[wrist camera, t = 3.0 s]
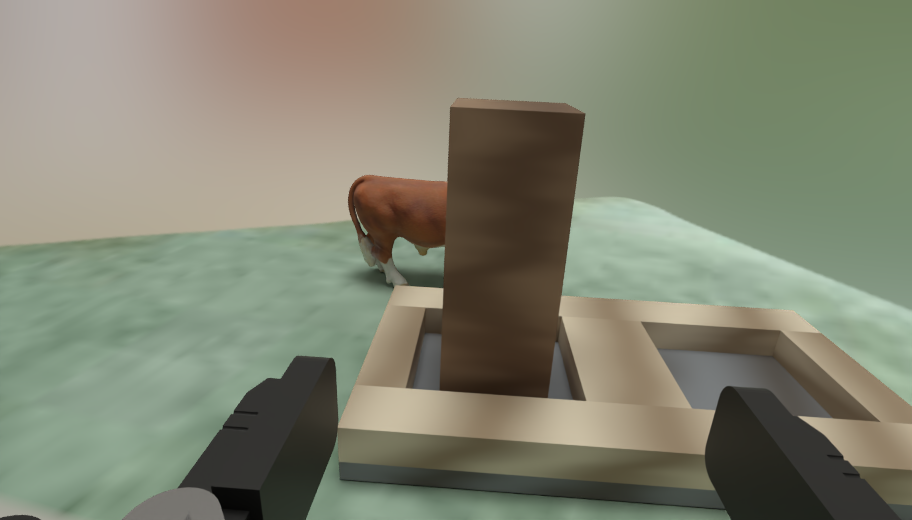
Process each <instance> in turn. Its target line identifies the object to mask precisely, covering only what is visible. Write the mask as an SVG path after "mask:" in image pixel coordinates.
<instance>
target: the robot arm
mask: <svg viewBox="0 0 912 520" xmlns="http://www.w3.org/2000/svg"><path fill="white" fill-rule="evenodd" d="M337 430H338V405H337V385H336V367H335V362H334V359H333V358H324V357H310V356H296V357H295V358H294V359H293V361H292V362H291V364H290V365H289V367H288V368H287V370H286V372H285V373H284V375H283V376H282V378H281V379H275V378H267V379H266V380H264V381H263V382H262V383H260V384H259V385H257V386H256V387H254V388H253V389H251V390H250V391H249V392H247V393H246V395H245V396H244V397H243V399H242V400H241V402H240V403H239V404H238V406H237V407H236V408H235V410H234V414H231V415H230V417H229V418H228V419H227V421H226V422H225V424H224V425H223V429H222V430H219V432H218V433H217V435H216V436H215V437H214V439H213V440H212V441H211V443H210V444H209V446H208V447H207V448H206V450H205V451H204V452H203V454H202V455H201V457H200V458H199V459H198V461H197V462H196V464H195V465H194V466H193V468H192V469H191V470H190V472H189V473H188V475H187V476H186V477H185V479H184V480H183V481H182V483H181V484H180V486H179V487H178V488H177V489H173V490H169V491H166V492H163V493H160V494H158V495H155V496H153V497H151V498H149V499H147V500H146V501H144V502H142V503H141V504H139V505H138V506H136V507H135V508H134V509H133V510H132V511H130V512H129V513H128V514H127V515H126V516H125V517H124V518H123V519H122V520H306V517H307V515H308V512H309V510H310V507H311V505H312V502H313V500H314V497H315V494H316V492H317V489H318V487H319V484H320V482H321V479H322V477H323V474H324V472H325V469H326V467H327V464H328V462H329V459H330V457H331V454H332V452H333V449H334V446H335V442H336V437H337ZM705 465H706V470H707V473H708V476H709V479H710V481H711V483H712V484H713V486H714V488H715V490H716V492H717V494H718V496H719V498H720V499H721V501H722V503H723V505H724V507H725V509H726V511H727V512H728V514H729V516H730V518H731V520H901V519H900V518H899V516H898V515H897V514H896V513H895V512H894V511H893V510H892V509H891V508H890V507H889V505H888V504H887V503H886V502H885V501H884V500H883V499H882V498H881V497H880V496H879V494H878V493H877V492H876V491H875V490H874V489H873V488H872V487H871V486H870V485H869V483H868V482H867V481H866V480H865V479H861V478H860V474H859V472H858V471H857V470H856V469H855V468H854V467H853V466H852V465H851V464H850V462H849V461H848V460H844V456H843V455H842V454H841V453H840V451H839V450H838V449H837V448H836V447H835V446H834V445H833V444H832V443H831V442H830V440H829V439H828V438H827V437H826V436H825V435H824V434H822V433H821V432H820V431H818V430H817V429H815V428H814V427H812V426H811V425H809V424H808V423H807V422H805V421H804V420H802V419H801V418H799V417H798V416H792V414H791V413H790V412H789V411H788V410H787V409H786V408H785V406H784V405H783V404H782V403H781V402H780V401H779V399H778V398H777V397H776V396H775V395H774V394H773V393H772V392H771V391H770V390H768V389H765V388H751V387H736V386H726V387H725V388H723V390H722V391H721V393H720V396H719V399H718V403H717V407H716V410H715V414H714V417H713V421H712V425H711V428H710V432H709V435H708V439H707V443H706V447H705ZM0 520H40V519H39V518H37V517H33V516H28V515H14V516H7V517H2V518H0Z"/></svg>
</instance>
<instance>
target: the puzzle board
mask: <svg viewBox="0 0 912 520" xmlns="http://www.w3.org/2000/svg"><path fill="white" fill-rule="evenodd" d="M442 311H443V288H431V287H415V286H399V285H395V287H394V290H393V292H392V294H391V297H390V299H389V302H388V304H387V307H386V309H385V312H384V314H383V317H382V319H381V321H380V324H379V326H378V329H377V331H376V334H375V336H374V339H373V341H372V344H371V346H370V348H369V351H368V353H367V356H366V358H365V361H364V363H363V366H362V368H361V370H360V373H359V375H358V378H357V380H356V383H355V385H354V388H353V390H352V393H351V395H350V397H349V400H348V402H347V405H346V407H345V410H344V412H343V415H342V417H341V420H340V422H339V424H338V430H337V434H338V453H339V473H340V479H344V480H357V481H370V482H383V483H396V484H409V485H422V486H435V487H448V488H461V489H474V490H486V491H499V492H512V493H525V494H538V495H551V496H564V497H577V498H590V499H603V500H616V501H629V502H641V503H654V504H667V505H680V506H693V507H706V508H719V509H725V507H724V505H723V503H722V501H721V499H720V498H719V496H718V494H717V492H716V490H715V488H714V486H713V484H712V483H711V481H710V479H709V476H708V473H707V470H706V465H705V447H706V443H707V439H708V435H709V432H710V428H711V425H712V421H713V417H714V414H715V410H716V407H717V403H718V399H719V396H720V393H721V391H722V390H723V388H725V387H726V386H736V387H751V388H765V389H768V390H770V391H771V392H772V393H773V394H774V395H775V396H776V397H777V398H778V399H779V401H780V402H781V403H782V404H783V405H784V406H785V408H786V409H787V410H788V411H789V412H790V413H791V414H792V416H798V417H799V418H801V419H802V420H804V421H805V422H807V423H808V424H809V425H811V426H812V427H814V428H815V429H817V430H818V431H820V432H821V433H822V434H824V435H825V436H826V437H827V438H828V439H829V440H830V442H831V443H832V444H833V445H834V446H835V447H836V448H837V449H838V450H839V451H840V453H841V454H842V455H843V456H844V460H848V461H849V462H850V464H851V465H852V466H853V467H854V468H855V469H856V470H857V471H858V472H859V474H860V478H861V479H865V480H866V481H867V482H868V483H869V485H870V486H871V487H872V488H873V489H874V490H875V491H876V492H877V493H878V494H879V496H880V497H881V498H882V499H883V500H884V501H885V502H886V503H887V504H888V505H889V507H890V508H891V509H892V510H893V511H894V512H895V513H896V514H897V515H898V516H899V518H900V519H901V520H912V406H910V405H909V404H908V403H907V402H906V401H904V400H903V399H902V398H901V397H899V396H898V395H897V394H896V393H894V392H893V391H892V390H891V389H889V388H888V387H887V386H886V385H885V384H883V383H882V382H881V381H880V380H878V379H877V378H876V377H875V376H873V375H872V374H871V373H870V372H868V371H867V370H866V369H865V368H864V367H862V366H861V365H860V364H859V363H857V362H856V361H855V360H854V359H852V358H851V357H850V356H849V355H848V354H846V353H845V352H844V351H843V350H841V349H840V348H839V347H838V346H836V345H835V344H834V343H833V342H831V341H830V340H829V339H828V338H827V337H825V336H824V335H823V334H822V333H820V332H819V331H818V330H817V329H815V328H814V327H813V326H812V325H810V324H809V323H808V322H807V321H806V320H804V319H803V318H802V317H801V316H799V315H798V314H797V313H796V312H794V311H793V310H778V309H762V308H746V307H730V306H715V305H699V304H683V303H667V302H651V301H636V300H620V299H604V298H588V297H573V296H561V302H560V310H559V317H558V325H557V332H556V340H555V347H554V355H553V363H552V370H551V378H550V385H549V393H548V398H535V397H521V396H507V395H492V394H478V393H464V392H450V391H439V389H440V363H441V337H442Z"/></svg>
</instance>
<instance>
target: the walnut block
mask: <svg viewBox="0 0 912 520" xmlns="http://www.w3.org/2000/svg"><path fill="white" fill-rule="evenodd" d="M584 120H585V113H583V112H581V111H579V110H578V109H576V108H574V107H572V106H570V105H568V104H566V103H549V102H529V101H528V102H527V101H508V100H488V99H468V98H457V99H456V100H455V102H454V103H453V104H452V105H451V107H450V129H449V154H448V155H449V157H448V180H447V206H446V232H445V258H444V285H443V311H442V337H441V363H440V389H439V391H450V392H464V393H478V394H492V395H507V396H521V397H535V398H548V393H549V385H550V378H551V370H552V363H553V355H554V347H555V340H556V332H557V325H558V317H559V310H560V302H561V295H562V287H563V279H564V272H565V264H566V257H567V249H568V242H569V234H570V227H571V219H572V211H573V204H574V196H575V189H576V181H577V174H578V166H579V159H580V151H581V143H582V136H583V128H584Z"/></svg>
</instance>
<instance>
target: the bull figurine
mask: <svg viewBox="0 0 912 520" xmlns="http://www.w3.org/2000/svg"><path fill="white" fill-rule="evenodd" d="M348 205H349V211H350V215H351V218H352V221H353V223H354V225H355V228H356V230H357V234H358V240H359V245H360V248H361V251H362V254H363V257H364V260H365V261H366V262H367V263H368V265H369V266H370V267H373V266H374V265H378V268H379V271H380V272H385V274H386V282H387V283H390V282H392V283H393V285H394V287H395V285H399V286H409V283H408V282H407V281H406V280H405V278H404V277H403V276H402V275H401V274H400V273H399V272H398V270H397V268H396V267H395V265H394V262H393V259H392V248H393V244H394V241H395V239H396V238H397V237H403V238H404V239H406V240H407V241H409V242H410V243H412V244H414V246H415V247H416V249H417V250H418V252H419V254H420V255H422V256H424V255H426V254H427V250H428V249H429V248H437V247H445V232H446V206H447V182H444V181H425V180H414V179H402V178H392V177H382V176H374V175H365V176H362V177H360V178H358V179H357V180H356V181H355V182H354V183H353V184H352V186H351V188H350V191H349V197H348ZM354 205H355V206H354ZM355 209H356V211H355ZM356 212H357V214H358V217H359V219H360V221H361V223H362V225H363V226H364V228H365V229H366V230H367V232H368V234H367V235H365V233H364V232H363V231H362V229H361V226H360V223H359V221H358V219H357V215H356Z"/></svg>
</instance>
